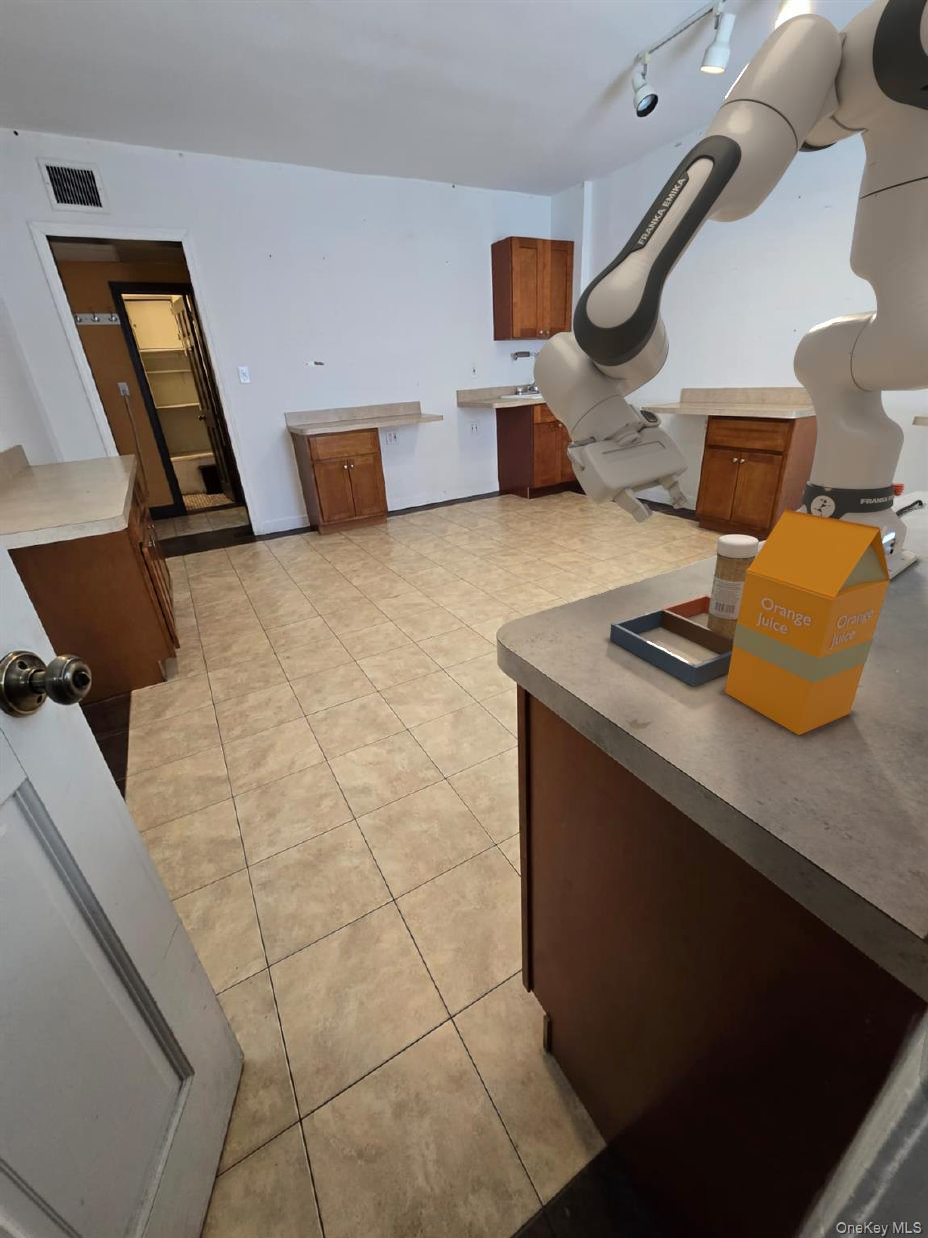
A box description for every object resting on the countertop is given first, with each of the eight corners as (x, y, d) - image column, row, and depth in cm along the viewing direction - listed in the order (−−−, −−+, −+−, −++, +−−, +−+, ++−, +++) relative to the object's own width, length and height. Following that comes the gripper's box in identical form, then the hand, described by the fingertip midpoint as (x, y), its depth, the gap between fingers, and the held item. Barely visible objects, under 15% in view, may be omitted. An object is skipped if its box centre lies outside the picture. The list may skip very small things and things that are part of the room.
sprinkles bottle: (748, 635, 69) (767, 537, 63) (729, 645, 66) (746, 545, 61) (717, 624, 72) (731, 531, 67) (697, 633, 70) (710, 538, 64)
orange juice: (798, 736, 50) (850, 535, 41) (723, 692, 57) (754, 514, 49) (851, 713, 52) (910, 520, 44) (773, 674, 60) (810, 502, 51)
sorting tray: (703, 609, 77) (705, 594, 76) (794, 646, 65) (798, 628, 64) (609, 640, 70) (610, 623, 69) (693, 687, 58) (695, 668, 57)
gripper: (575, 425, 64) (638, 513, 62) (662, 412, 76) (718, 484, 73) (548, 460, 70) (605, 542, 67) (634, 442, 81) (685, 511, 78)
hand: (665, 512), depth 70 cm, fingers open, 8 cm apart
